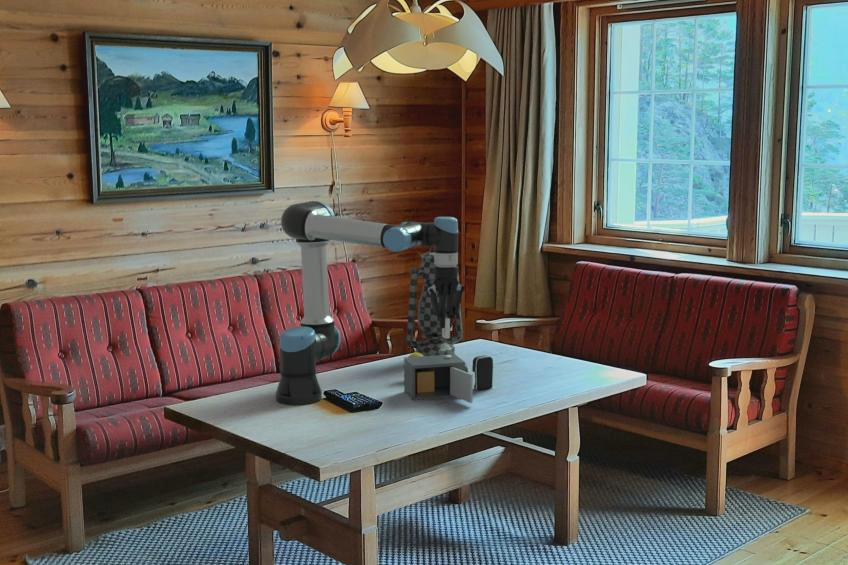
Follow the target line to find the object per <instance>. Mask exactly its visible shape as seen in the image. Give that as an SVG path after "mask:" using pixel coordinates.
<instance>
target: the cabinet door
mask: <svg viewBox="0 0 848 565" xmlns="http://www.w3.org/2000/svg"><path fill="white" fill-rule="evenodd" d="M473 375H474V374H472V373H469V372H468V373H467V372H465V371H462V370H459V369H456V368H454V367H450V395H452V396H455V397H457V398H456V399H460V400H462V401H465V402H467V403H470V404H472V403H473V398H474V397H473V394H474V392H473V390H474V382H473V381H474V380H473V379H474V378H473Z"/></svg>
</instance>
